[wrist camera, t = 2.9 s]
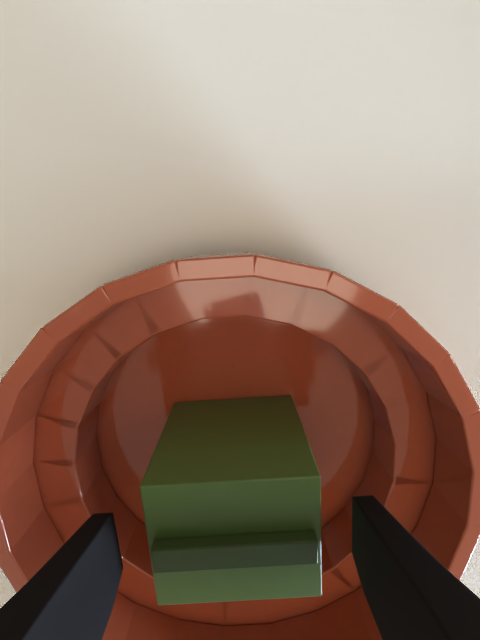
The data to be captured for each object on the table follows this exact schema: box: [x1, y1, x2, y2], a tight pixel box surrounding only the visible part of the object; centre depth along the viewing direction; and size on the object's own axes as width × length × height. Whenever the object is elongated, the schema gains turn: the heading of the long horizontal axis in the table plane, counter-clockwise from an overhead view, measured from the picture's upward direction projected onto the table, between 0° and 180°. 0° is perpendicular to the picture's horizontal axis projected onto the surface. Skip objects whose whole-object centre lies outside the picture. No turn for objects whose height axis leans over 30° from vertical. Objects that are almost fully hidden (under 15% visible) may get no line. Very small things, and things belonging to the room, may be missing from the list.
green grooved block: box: [140, 395, 322, 605], centre depth 11 cm, size 4×5×5 cm
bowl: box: [0, 252, 480, 640], centre depth 13 cm, size 16×16×4 cm
